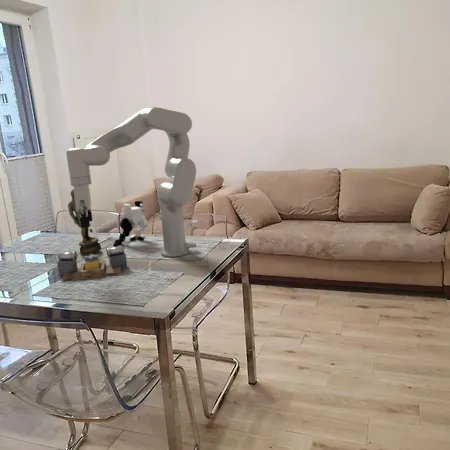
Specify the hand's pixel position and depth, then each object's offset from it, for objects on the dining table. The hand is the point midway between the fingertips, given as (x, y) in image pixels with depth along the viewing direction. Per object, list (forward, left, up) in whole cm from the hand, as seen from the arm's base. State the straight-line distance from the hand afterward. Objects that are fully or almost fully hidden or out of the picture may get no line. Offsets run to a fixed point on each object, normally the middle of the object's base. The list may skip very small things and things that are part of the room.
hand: (87, 224), depth 184 cm
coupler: (0, 0, -19) cm, 19 cm away
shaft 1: (+10, -2, -20) cm, 22 cm away
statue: (+4, -30, -20) cm, 36 cm away
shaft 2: (-9, -2, -20) cm, 22 cm away
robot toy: (-15, -40, -20) cm, 47 cm away
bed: (0, 0, -20) cm, 20 cm away
